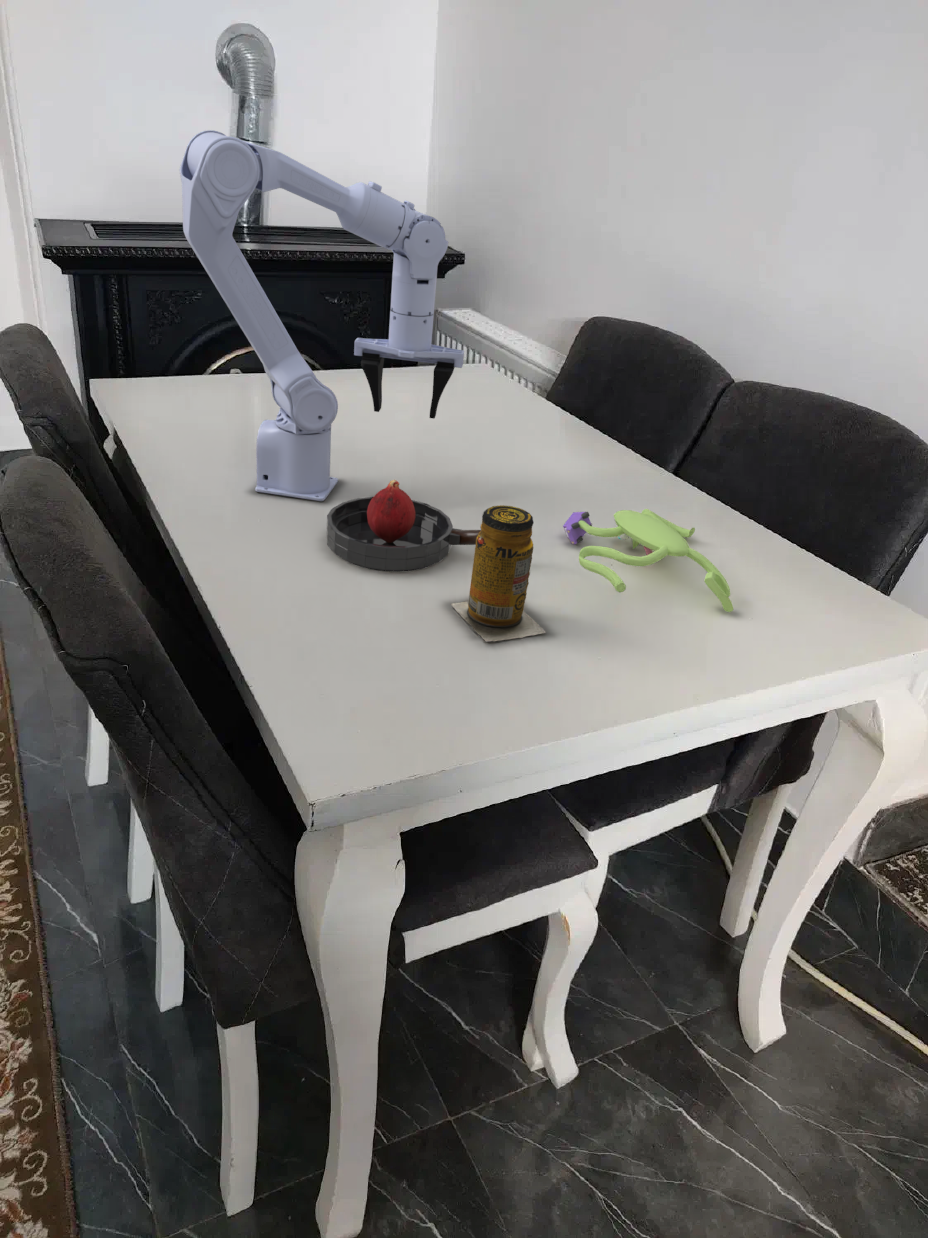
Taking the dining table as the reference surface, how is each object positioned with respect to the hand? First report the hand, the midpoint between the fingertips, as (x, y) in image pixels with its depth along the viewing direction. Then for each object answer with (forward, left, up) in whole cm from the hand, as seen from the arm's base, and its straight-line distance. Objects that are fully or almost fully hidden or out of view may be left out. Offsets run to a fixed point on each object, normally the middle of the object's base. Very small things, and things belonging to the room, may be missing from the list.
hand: (405, 412), depth 127 cm
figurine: (+34, -18, -10) cm, 40 cm away
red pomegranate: (+3, -22, -10) cm, 24 cm away
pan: (+3, -22, -10) cm, 24 cm away
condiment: (+18, -36, -10) cm, 41 cm away
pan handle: (+15, -22, -8) cm, 28 cm away
